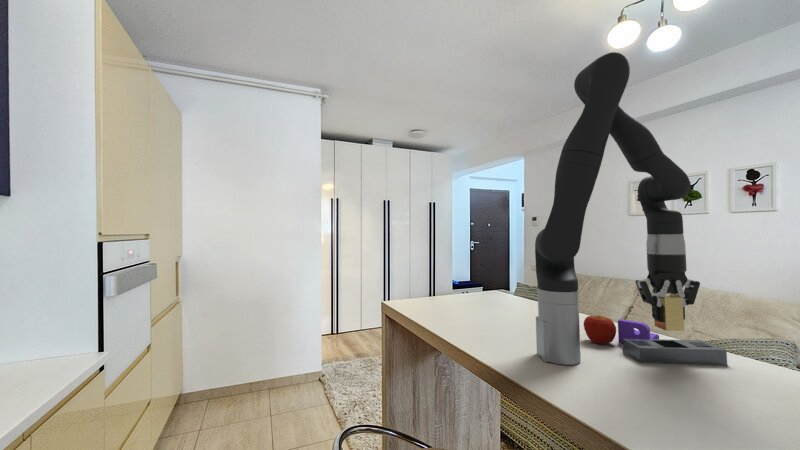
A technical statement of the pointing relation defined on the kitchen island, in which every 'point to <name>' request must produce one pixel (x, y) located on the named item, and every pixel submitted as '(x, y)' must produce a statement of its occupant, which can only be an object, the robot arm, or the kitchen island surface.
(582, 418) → the kitchen island surface
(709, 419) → the kitchen island surface
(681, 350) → the grey base plate
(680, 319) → the tan block
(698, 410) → the kitchen island surface
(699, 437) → the kitchen island surface
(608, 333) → the apple
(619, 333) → the bracket
